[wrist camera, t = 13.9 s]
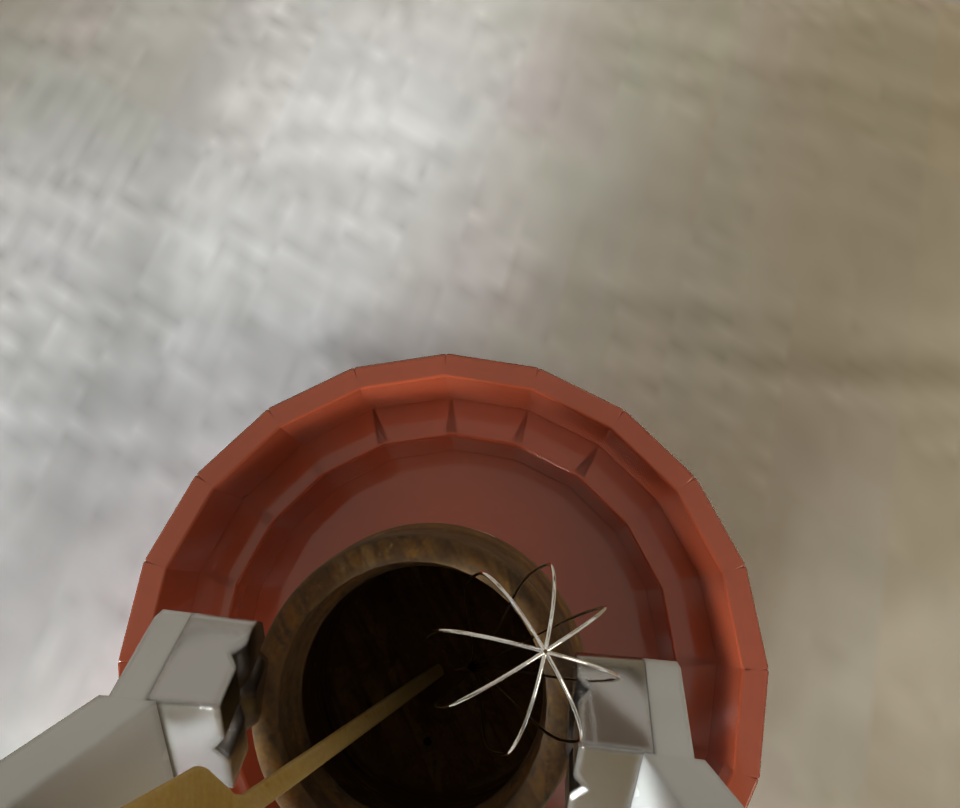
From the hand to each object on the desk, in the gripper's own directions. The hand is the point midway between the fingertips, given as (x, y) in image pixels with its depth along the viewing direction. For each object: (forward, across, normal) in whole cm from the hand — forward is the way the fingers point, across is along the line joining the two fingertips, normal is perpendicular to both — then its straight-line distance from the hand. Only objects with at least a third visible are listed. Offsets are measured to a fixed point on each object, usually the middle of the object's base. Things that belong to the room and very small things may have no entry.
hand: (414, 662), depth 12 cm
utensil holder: (+5, 0, +6) cm, 7 cm away
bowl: (+8, 0, +9) cm, 12 cm away
